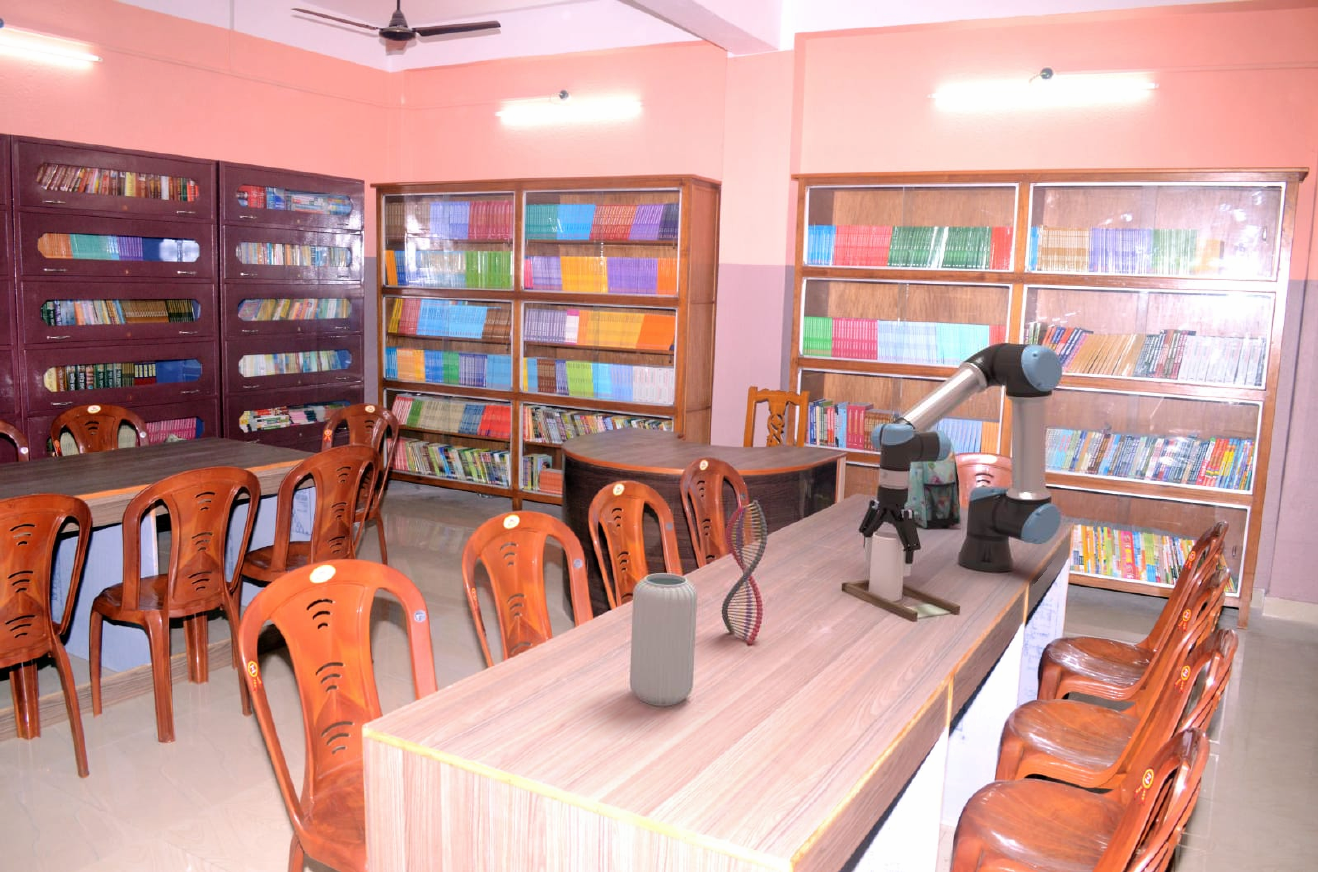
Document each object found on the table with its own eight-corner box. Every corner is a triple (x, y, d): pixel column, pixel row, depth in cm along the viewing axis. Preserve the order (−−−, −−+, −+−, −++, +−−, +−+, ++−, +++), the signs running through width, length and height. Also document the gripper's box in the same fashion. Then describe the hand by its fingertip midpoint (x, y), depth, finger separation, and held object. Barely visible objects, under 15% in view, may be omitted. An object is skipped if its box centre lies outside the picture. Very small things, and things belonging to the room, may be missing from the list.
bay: (886, 584, 255) (886, 577, 255) (959, 613, 233) (960, 605, 232) (841, 590, 248) (842, 582, 248) (912, 621, 226) (913, 613, 225)
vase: (700, 707, 172) (706, 586, 169) (638, 712, 169) (643, 589, 166) (681, 682, 183) (686, 569, 180) (622, 687, 180) (626, 571, 177)
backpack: (868, 512, 348) (874, 423, 343) (933, 513, 350) (941, 425, 346) (895, 530, 320) (903, 434, 315) (966, 531, 323) (975, 436, 318)
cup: (902, 602, 240) (907, 539, 238) (868, 599, 242) (873, 536, 239) (900, 593, 248) (905, 532, 246) (868, 590, 250) (872, 529, 247)
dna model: (734, 648, 203) (741, 508, 199) (712, 634, 211) (719, 499, 207) (769, 642, 207) (777, 505, 203) (747, 629, 215) (754, 497, 211)
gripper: (849, 477, 250) (842, 557, 253) (917, 496, 228) (909, 583, 231) (871, 476, 254) (865, 555, 256) (940, 495, 232) (932, 580, 235)
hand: (886, 568), depth 244 cm, fingers open, 13 cm apart
